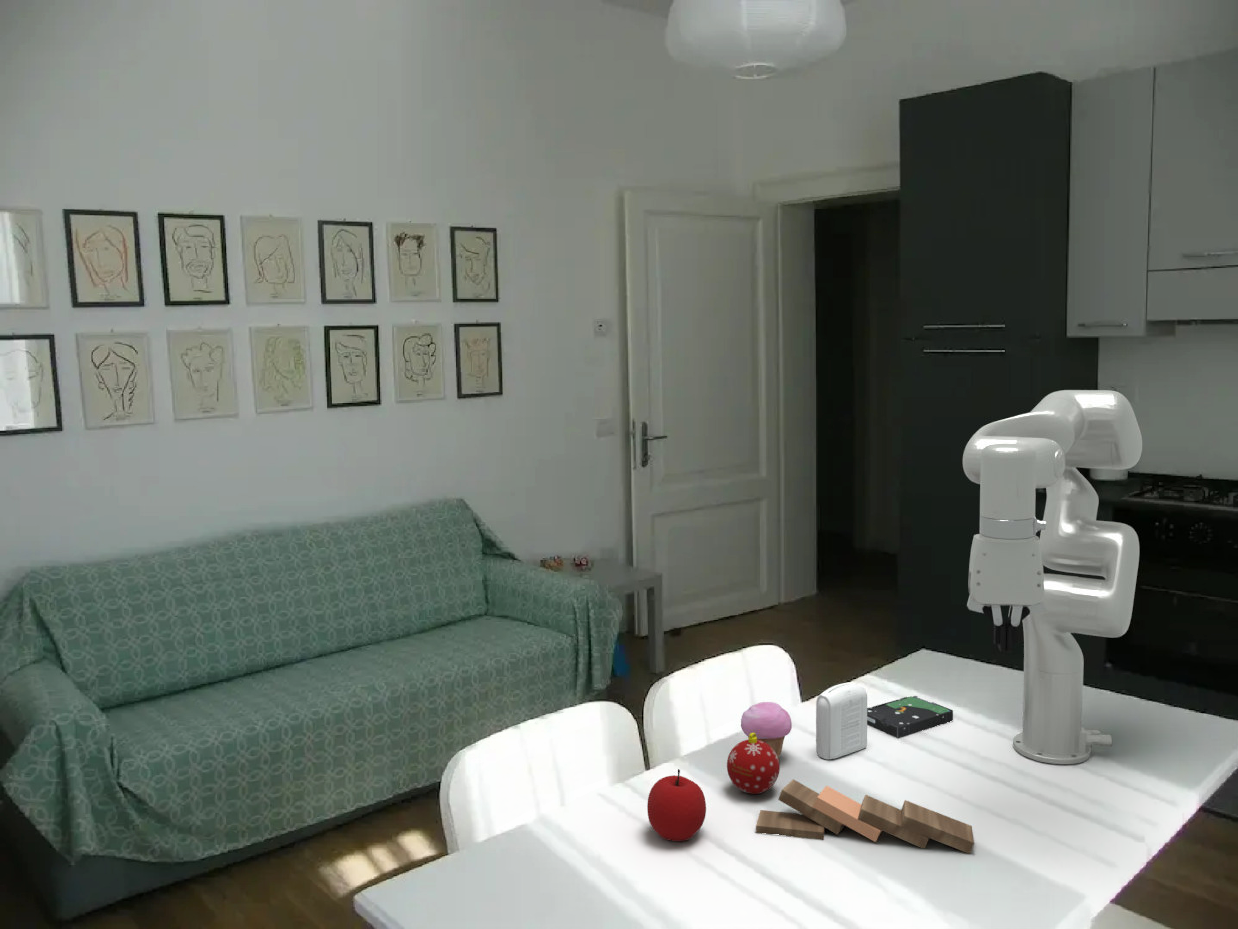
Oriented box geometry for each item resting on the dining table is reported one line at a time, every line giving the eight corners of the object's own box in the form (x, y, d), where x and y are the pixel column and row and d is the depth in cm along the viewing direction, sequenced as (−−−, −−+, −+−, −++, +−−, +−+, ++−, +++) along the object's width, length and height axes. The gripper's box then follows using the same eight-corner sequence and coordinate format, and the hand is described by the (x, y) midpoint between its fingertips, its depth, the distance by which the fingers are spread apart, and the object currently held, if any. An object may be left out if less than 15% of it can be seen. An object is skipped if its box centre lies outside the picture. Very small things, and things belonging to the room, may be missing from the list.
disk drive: (898, 742, 182) (954, 723, 189) (898, 727, 182) (954, 709, 189) (858, 724, 191) (912, 706, 198) (858, 710, 190) (912, 693, 198)
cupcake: (790, 748, 179) (789, 695, 178) (793, 769, 171) (793, 713, 170) (740, 748, 180) (739, 695, 179) (741, 768, 172) (740, 713, 170)
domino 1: (825, 816, 152) (760, 810, 154) (823, 832, 147) (756, 825, 150) (825, 827, 152) (760, 820, 155) (823, 844, 147) (756, 837, 150)
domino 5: (971, 826, 146) (904, 800, 148) (974, 843, 141) (904, 816, 144) (967, 836, 147) (900, 810, 149) (969, 854, 142) (900, 826, 144)
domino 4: (930, 823, 148) (865, 794, 151) (928, 838, 143) (861, 809, 146) (926, 833, 148) (861, 804, 151) (924, 849, 143) (857, 819, 146)
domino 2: (851, 812, 151) (793, 779, 156) (841, 824, 147) (781, 789, 152) (847, 822, 152) (789, 789, 156) (837, 834, 148) (778, 799, 152)
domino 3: (887, 818, 149) (826, 785, 153) (879, 831, 145) (817, 797, 149) (883, 828, 150) (822, 795, 154) (875, 842, 145) (813, 807, 149)
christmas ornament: (716, 789, 164) (715, 732, 163) (754, 774, 169) (753, 718, 168) (752, 808, 157) (751, 748, 156) (790, 792, 162) (790, 734, 161)
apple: (637, 827, 153) (635, 765, 151) (689, 814, 156) (688, 754, 155) (663, 855, 144) (661, 790, 143) (718, 841, 148) (716, 777, 146)
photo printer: (853, 740, 182) (852, 675, 180) (870, 748, 178) (870, 682, 177) (812, 755, 176) (811, 688, 175) (829, 763, 173) (829, 695, 171)
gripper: (1056, 523, 147) (1053, 643, 149) (950, 522, 150) (949, 639, 152) (1067, 534, 139) (1064, 659, 142) (955, 532, 143) (954, 655, 145)
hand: (1004, 649), depth 147 cm, fingers closed
